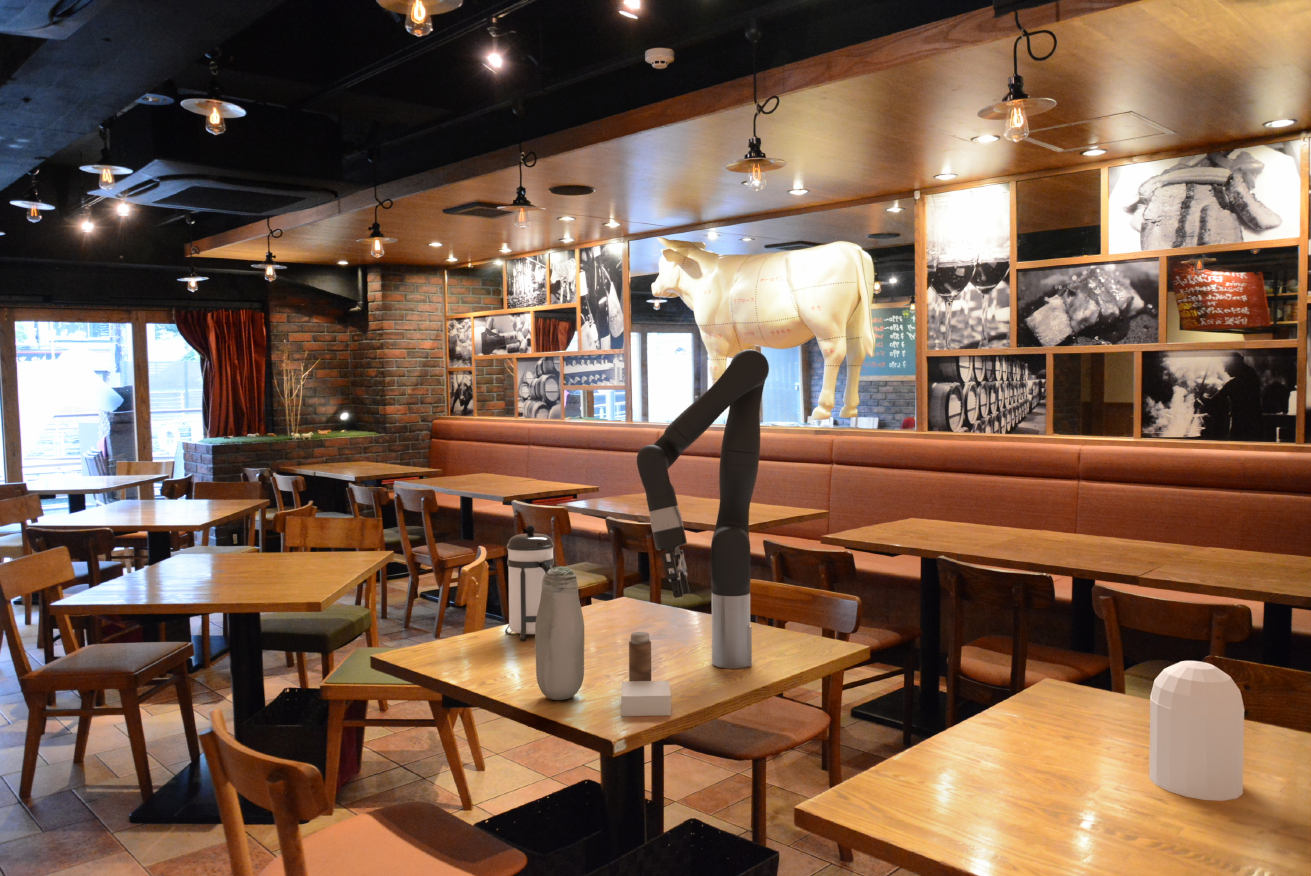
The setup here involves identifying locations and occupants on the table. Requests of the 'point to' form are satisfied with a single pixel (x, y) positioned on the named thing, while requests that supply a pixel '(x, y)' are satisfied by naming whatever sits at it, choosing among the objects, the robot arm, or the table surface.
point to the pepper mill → (640, 657)
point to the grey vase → (559, 635)
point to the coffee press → (527, 578)
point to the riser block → (645, 698)
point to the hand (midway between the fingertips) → (682, 595)
